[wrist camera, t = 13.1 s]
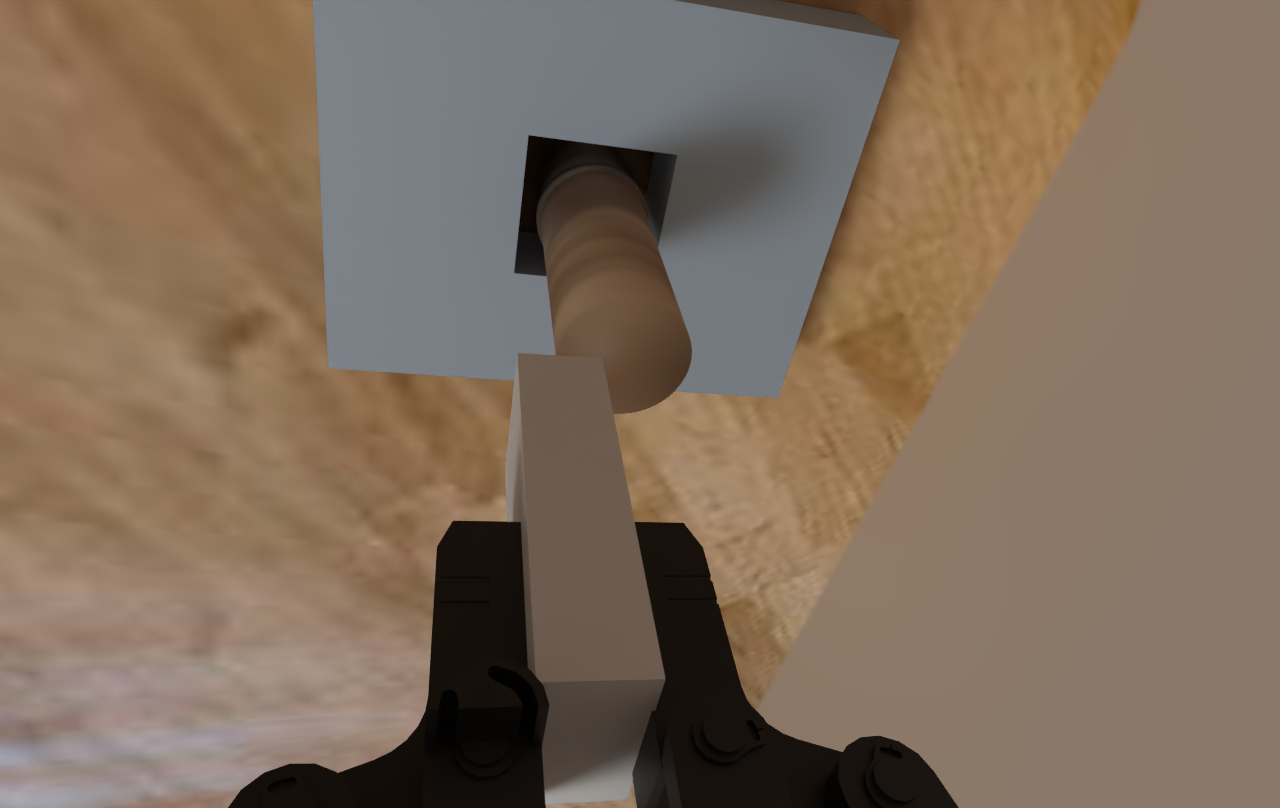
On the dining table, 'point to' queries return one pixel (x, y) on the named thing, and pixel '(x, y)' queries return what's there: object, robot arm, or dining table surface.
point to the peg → (609, 276)
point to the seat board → (591, 113)
